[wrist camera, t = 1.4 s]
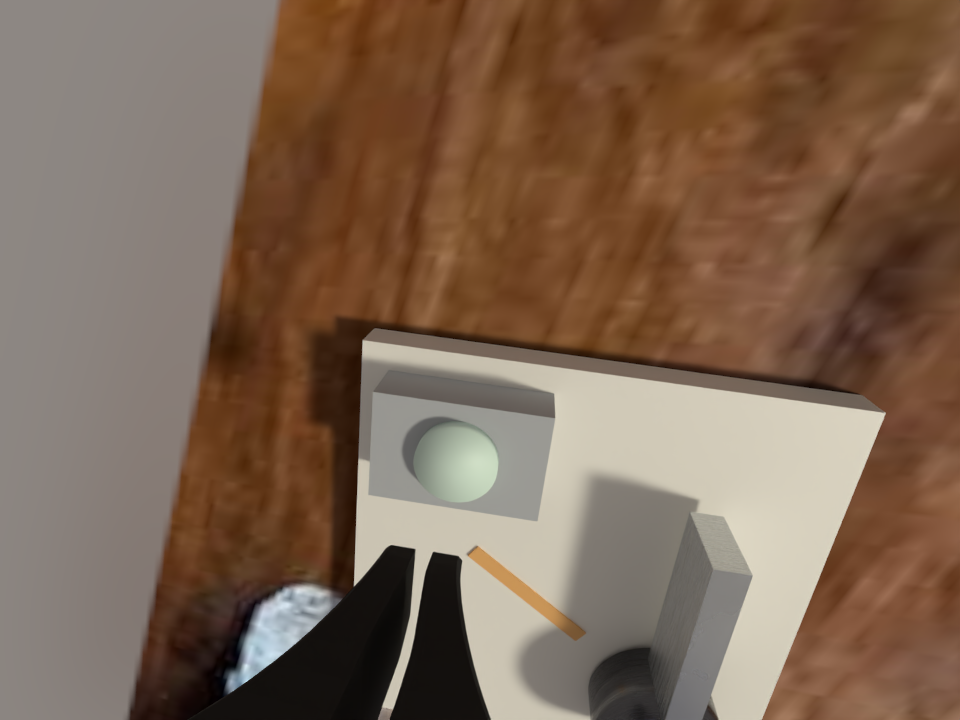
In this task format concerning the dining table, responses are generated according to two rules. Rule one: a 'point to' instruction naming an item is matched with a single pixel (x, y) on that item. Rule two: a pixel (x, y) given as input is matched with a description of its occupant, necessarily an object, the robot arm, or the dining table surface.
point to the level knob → (680, 634)
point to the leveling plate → (595, 504)
